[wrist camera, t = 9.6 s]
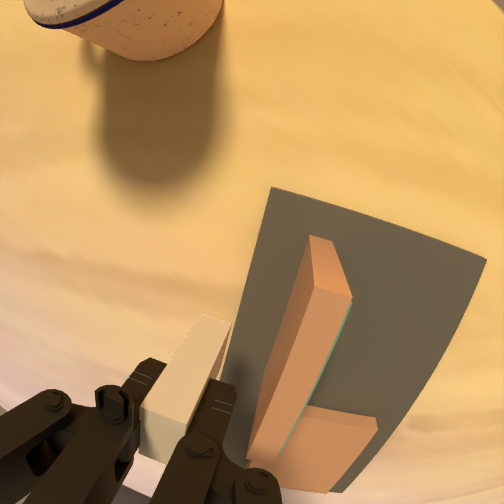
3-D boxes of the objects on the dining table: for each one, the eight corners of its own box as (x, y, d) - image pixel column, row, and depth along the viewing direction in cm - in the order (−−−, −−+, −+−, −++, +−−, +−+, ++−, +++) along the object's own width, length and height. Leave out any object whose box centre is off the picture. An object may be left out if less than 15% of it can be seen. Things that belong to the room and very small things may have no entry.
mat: (199, 459, 26) (197, 463, 26) (272, 186, 19) (271, 187, 18) (341, 488, 25) (341, 493, 25) (482, 257, 18) (487, 259, 17)
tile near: (264, 370, 21) (245, 458, 14) (309, 234, 18) (314, 286, 11) (286, 376, 21) (275, 465, 14) (335, 242, 18) (357, 298, 11)
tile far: (243, 478, 23) (326, 493, 23) (275, 410, 20) (378, 429, 20) (245, 466, 25) (326, 481, 24) (277, 396, 22) (375, 415, 21)
